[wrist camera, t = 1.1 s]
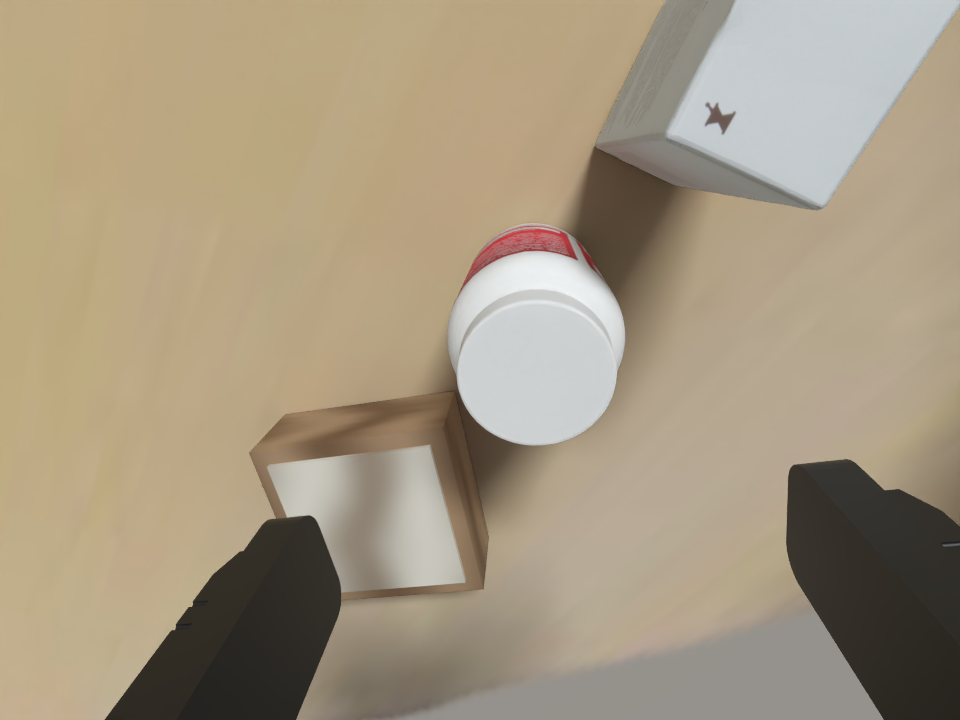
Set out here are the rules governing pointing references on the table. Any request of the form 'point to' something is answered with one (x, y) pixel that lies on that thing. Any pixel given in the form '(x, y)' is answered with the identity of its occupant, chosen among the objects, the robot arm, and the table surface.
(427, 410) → the base
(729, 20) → the skincare box
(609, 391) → the pill bottle
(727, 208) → the table surface
